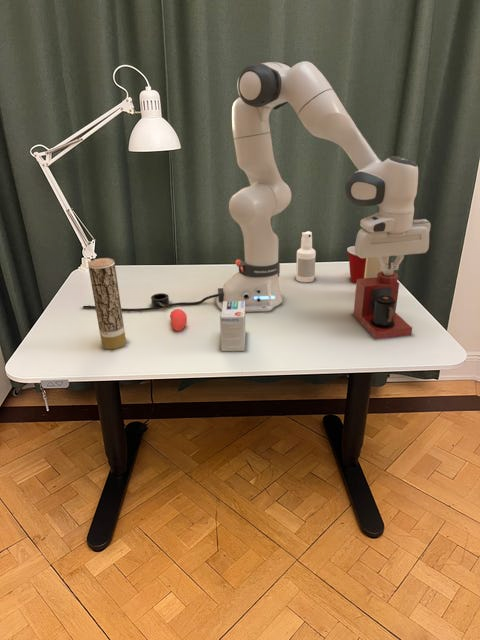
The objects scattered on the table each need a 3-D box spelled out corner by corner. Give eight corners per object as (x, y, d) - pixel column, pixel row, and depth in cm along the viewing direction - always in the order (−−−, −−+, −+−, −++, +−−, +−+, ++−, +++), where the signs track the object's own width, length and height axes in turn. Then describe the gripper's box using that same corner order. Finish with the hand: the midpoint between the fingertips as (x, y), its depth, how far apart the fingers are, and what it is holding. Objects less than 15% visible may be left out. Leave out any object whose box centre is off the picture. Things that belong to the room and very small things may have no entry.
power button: (385, 278, 144) (385, 272, 143) (380, 274, 147) (381, 269, 146) (394, 277, 145) (395, 271, 144) (390, 273, 147) (390, 268, 146)
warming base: (375, 339, 139) (379, 304, 134) (360, 323, 148) (364, 290, 143) (411, 335, 140) (416, 300, 135) (394, 319, 149) (399, 286, 144)
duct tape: (174, 298, 167) (174, 291, 166) (168, 311, 158) (168, 303, 157) (152, 298, 168) (151, 290, 166) (145, 310, 159) (144, 302, 157)
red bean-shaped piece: (191, 323, 153) (184, 305, 152) (189, 326, 144) (180, 307, 143) (176, 330, 153) (168, 311, 152) (173, 333, 144) (164, 313, 144)
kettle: (380, 330, 138) (383, 304, 134) (367, 317, 145) (370, 292, 142) (398, 328, 138) (402, 302, 135) (385, 315, 146) (388, 290, 142)
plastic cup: (377, 286, 173) (381, 254, 168) (347, 286, 174) (350, 254, 168) (370, 275, 183) (374, 244, 178) (342, 275, 183) (344, 245, 178)
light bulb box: (223, 333, 144) (222, 300, 139) (246, 333, 143) (245, 300, 139) (221, 351, 134) (219, 316, 129) (245, 351, 134) (244, 316, 129)
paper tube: (114, 352, 135) (100, 268, 124) (97, 346, 138) (82, 264, 127) (131, 342, 140) (119, 260, 129) (114, 336, 143) (101, 256, 132)
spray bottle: (302, 284, 177) (304, 236, 169) (292, 278, 182) (293, 231, 174) (317, 280, 180) (320, 233, 171) (307, 274, 185) (309, 228, 177)
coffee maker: (360, 323, 148) (365, 280, 142) (353, 314, 153) (357, 273, 147) (395, 319, 149) (401, 277, 143) (387, 311, 155) (392, 270, 149)
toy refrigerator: (385, 302, 161) (393, 241, 151) (363, 301, 162) (369, 240, 153) (384, 293, 168) (391, 234, 158) (362, 291, 169) (368, 233, 160)
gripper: (425, 215, 133) (418, 263, 139) (354, 220, 130) (350, 269, 136) (437, 221, 127) (429, 270, 133) (364, 226, 124) (359, 277, 130)
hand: (389, 269), depth 135 cm, fingers closed
